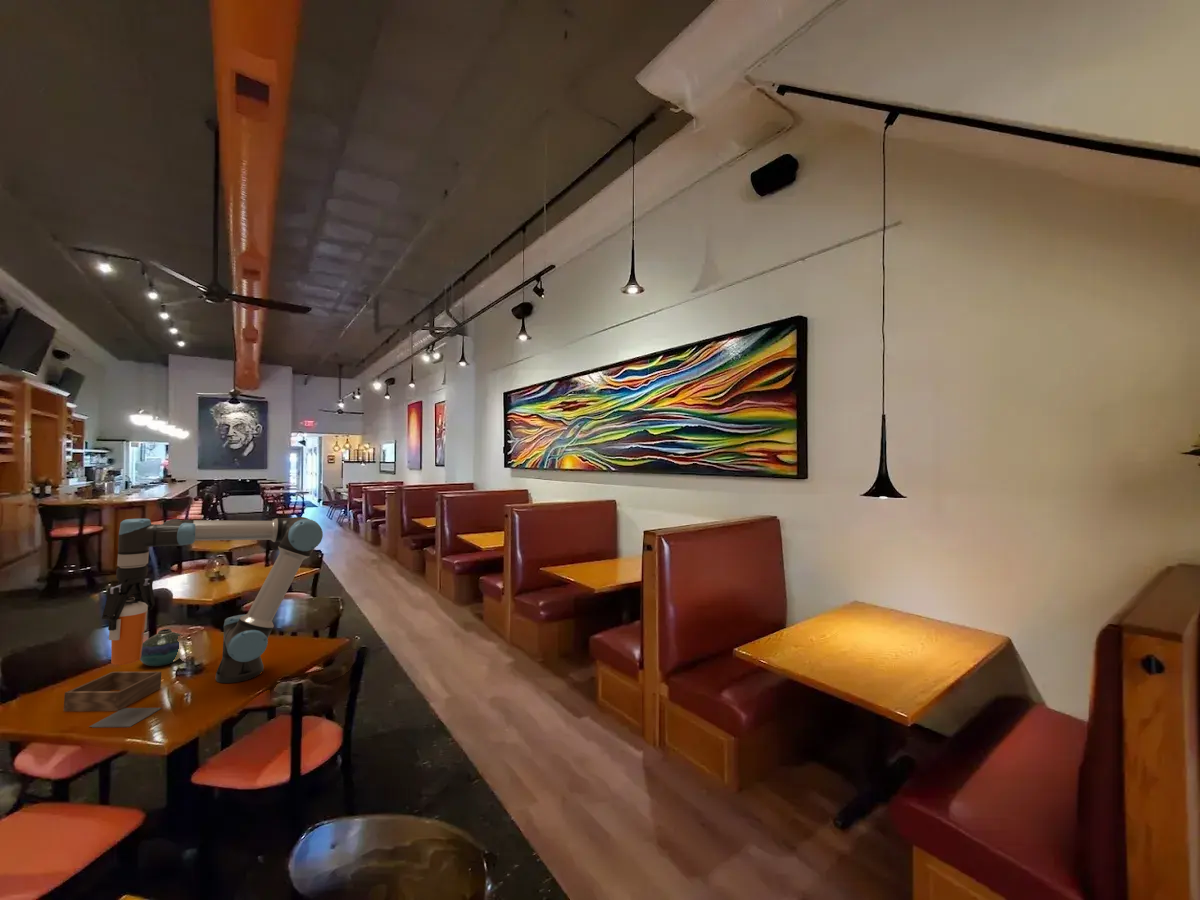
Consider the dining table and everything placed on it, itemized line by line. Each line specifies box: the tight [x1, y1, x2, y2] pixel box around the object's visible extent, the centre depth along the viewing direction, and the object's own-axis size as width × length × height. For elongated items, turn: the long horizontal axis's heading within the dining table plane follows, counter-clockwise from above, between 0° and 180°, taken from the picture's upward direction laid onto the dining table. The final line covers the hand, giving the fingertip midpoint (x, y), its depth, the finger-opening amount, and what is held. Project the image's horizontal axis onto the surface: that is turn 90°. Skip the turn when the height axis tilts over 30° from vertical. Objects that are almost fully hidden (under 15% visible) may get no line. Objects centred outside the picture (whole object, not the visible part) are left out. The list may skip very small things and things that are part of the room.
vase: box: [140, 628, 182, 667], centre depth 203 cm, size 15×15×13 cm
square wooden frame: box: [63, 671, 162, 712], centre depth 172 cm, size 17×17×6 cm
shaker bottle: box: [110, 596, 148, 666], centre depth 163 cm, size 9×9×20 cm
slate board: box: [88, 707, 163, 729], centre depth 160 cm, size 12×12×1 cm
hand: (128, 634), depth 163 cm, fingers closed on shaker bottle, 9 cm apart
